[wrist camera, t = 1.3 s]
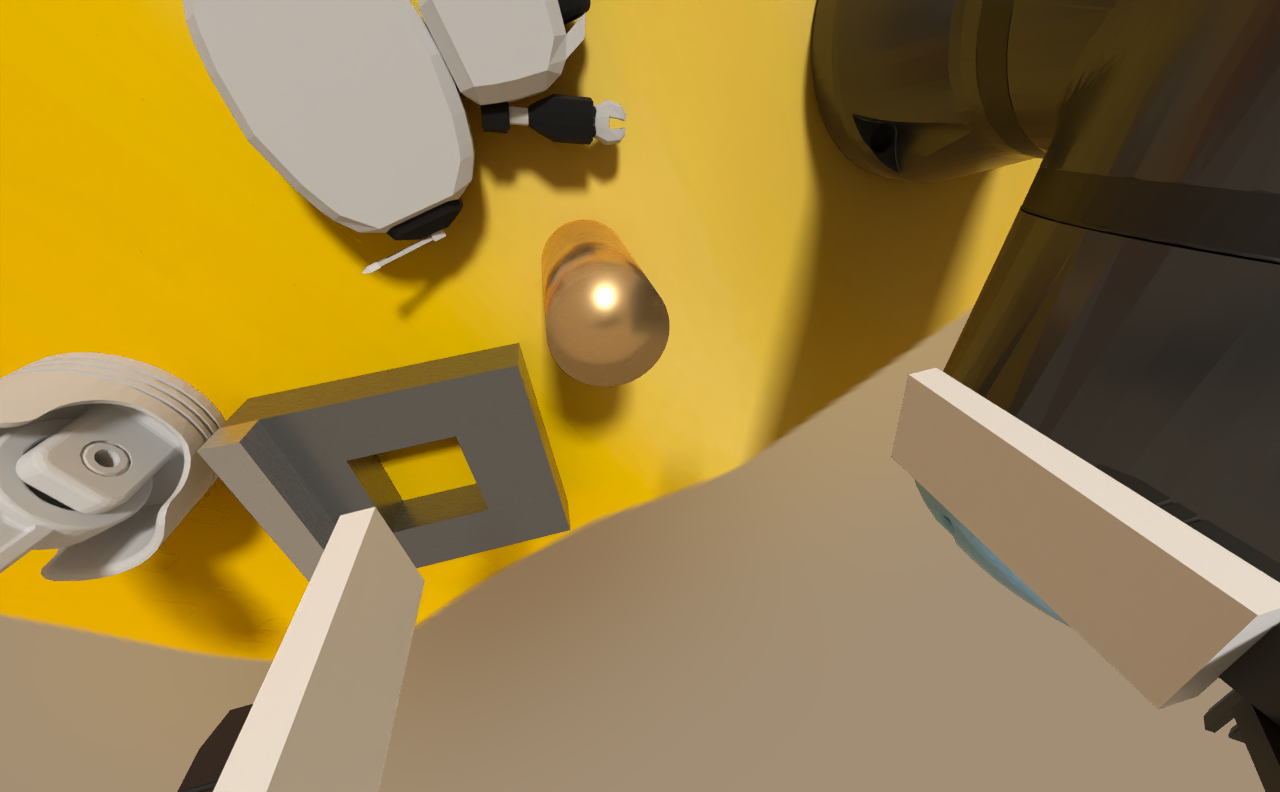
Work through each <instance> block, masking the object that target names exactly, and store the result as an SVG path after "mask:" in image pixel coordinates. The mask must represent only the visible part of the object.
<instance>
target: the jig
mask: <svg viewBox="0 0 1280 792" xmlns="http://www.w3.org/2000/svg"><path fill="white" fill-rule="evenodd" d="M455 436H456V438H457V440H458V442H459V445H460V447H461V449H462V451H463V454H464V456H465V458H466V460H467V463H468V465H469V467H470V469H471V472H472V474H473V476H474V478H475V480H476V483H477V484H474V485H469V486H465V487H461V488H457V489H452V490H448V491H444V492H439V493H435V494H431V495H427V496H422V497H418V498H414V499H409V500H405V501H402V499H401V497H400V496H399V494H398V492H397V491H396V489H395V487H394V485H393V484H392V482H391V480H390V479H389V477H388V475H387V473H386V472H385V470H384V468H383V467H382V465H381V463H380V462H379V460H378V458H377V456H376V455H375V454H379V453H383V452H388V451H392V450H397V449H401V448H406V447H410V446H415V445H419V444H424V443H428V442H433V441H437V440H442V439H446V438H451V437H455ZM197 452H198V453H199V454H200V456H201V457H202V458H203V459H204V460H205V461H206V462H207V464H208V465H209V466H210V467H211V468H212V469H213V471H214V472H215V473H216V474H217V475H218V476H219V478H220V479H221V480H222V481H223V482H224V483H225V485H226V486H227V487H228V488H229V489H230V490H231V492H232V493H233V494H234V495H235V496H236V497H237V498H238V500H239V501H240V502H241V503H242V504H243V505H244V507H245V508H246V509H247V510H248V511H249V512H250V514H251V515H252V516H253V517H254V518H255V519H256V521H257V522H258V523H259V524H260V525H261V526H262V528H263V529H264V530H265V531H266V532H267V533H268V534H269V536H270V537H271V538H272V539H273V540H274V541H275V543H276V544H277V545H278V546H279V547H280V548H281V550H282V551H283V552H284V553H285V554H286V555H287V557H288V558H289V559H290V560H291V561H292V562H293V564H294V565H295V566H296V567H297V568H298V569H299V570H300V572H301V573H302V574H303V575H304V576H305V577H306V579H307V580H308V581H309V582H310V580H311V578H312V576H313V574H314V571H315V569H316V567H317V565H318V563H319V561H320V558H321V556H322V554H323V552H324V550H325V547H326V545H327V543H328V541H329V539H330V537H331V534H332V532H333V530H334V528H335V526H336V524H337V521H338V519H339V517H340V515H344V514H348V513H352V512H356V511H360V510H364V509H368V508H372V507H376V508H377V510H378V511H379V513H380V514H381V516H382V517H383V519H384V520H385V522H386V523H387V525H388V527H389V528H390V530H391V531H392V533H393V534H394V536H395V537H396V539H397V540H398V542H399V543H400V545H401V546H402V548H403V549H404V551H405V552H406V554H407V555H408V557H409V558H410V560H411V561H412V563H413V564H414V566H415V567H416V568H419V567H423V566H427V565H431V564H435V563H439V562H443V561H447V560H451V559H455V558H459V557H463V556H467V555H471V554H475V553H479V552H483V551H487V550H491V549H495V548H499V547H503V546H507V545H511V544H515V543H519V542H523V541H528V540H532V539H536V538H540V537H544V536H548V535H552V534H556V533H560V532H564V531H568V530H570V523H569V513H568V502H567V498H566V495H565V492H564V488H563V485H562V482H561V479H560V475H559V472H558V469H557V466H556V462H555V459H554V456H553V453H552V449H551V446H550V443H549V440H548V436H547V433H546V430H545V427H544V423H543V420H542V417H541V414H540V410H539V407H538V404H537V401H536V397H535V394H534V391H533V387H532V384H531V381H530V378H529V374H528V371H527V368H526V365H525V361H524V358H523V355H522V352H521V348H520V345H519V343H517V344H512V345H507V346H502V347H498V348H493V349H488V350H483V351H478V352H473V353H468V354H464V355H459V356H454V357H449V358H444V359H439V360H434V361H430V362H425V363H420V364H415V365H410V366H405V367H400V368H396V369H391V370H386V371H381V372H376V373H371V374H366V375H361V376H357V377H352V378H347V379H342V380H337V381H332V382H327V383H323V384H318V385H313V386H308V387H303V388H298V389H293V390H289V391H284V392H279V393H274V394H269V395H264V396H259V397H255V398H250V399H248V400H247V401H246V402H245V403H244V404H243V405H242V406H241V407H240V408H239V409H238V410H237V411H236V412H235V413H234V414H233V415H232V416H231V417H230V418H229V419H228V420H227V421H226V422H225V423H224V424H223V425H222V426H221V427H220V428H219V429H218V430H217V431H216V432H215V433H214V434H213V435H212V436H211V437H210V438H209V439H208V440H207V441H206V442H205V443H204V444H203V445H202V446H201V447H200V448H199V449H198V450H197Z"/></svg>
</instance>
